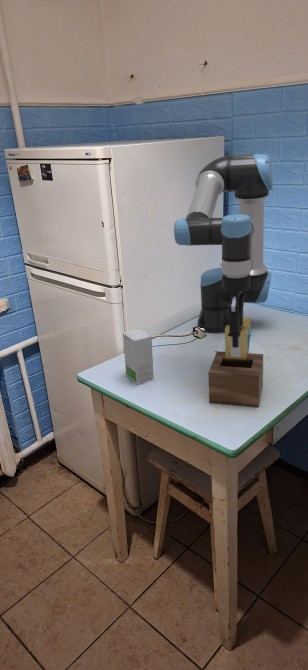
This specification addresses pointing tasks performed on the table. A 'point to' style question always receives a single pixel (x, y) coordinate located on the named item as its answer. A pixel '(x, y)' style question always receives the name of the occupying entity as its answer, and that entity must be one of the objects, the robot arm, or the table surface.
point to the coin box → (236, 380)
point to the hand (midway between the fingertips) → (236, 353)
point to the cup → (247, 323)
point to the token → (243, 343)
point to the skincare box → (138, 355)
